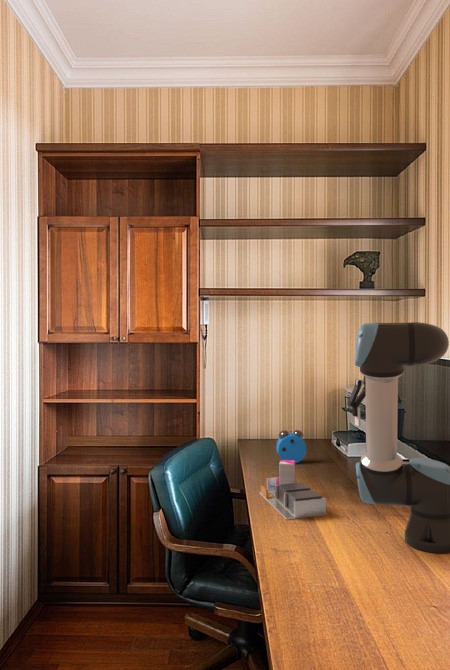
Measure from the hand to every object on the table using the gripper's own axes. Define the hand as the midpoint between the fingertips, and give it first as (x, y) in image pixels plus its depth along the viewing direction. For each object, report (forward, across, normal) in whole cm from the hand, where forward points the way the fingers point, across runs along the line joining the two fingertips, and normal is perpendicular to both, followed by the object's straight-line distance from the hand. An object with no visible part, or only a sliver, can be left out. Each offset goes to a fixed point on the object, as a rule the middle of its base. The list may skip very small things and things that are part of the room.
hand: (374, 424), depth 192 cm
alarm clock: (+27, +11, -56) cm, 63 cm away
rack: (+27, +31, -4) cm, 41 cm away
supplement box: (+26, +29, -13) cm, 41 cm away
